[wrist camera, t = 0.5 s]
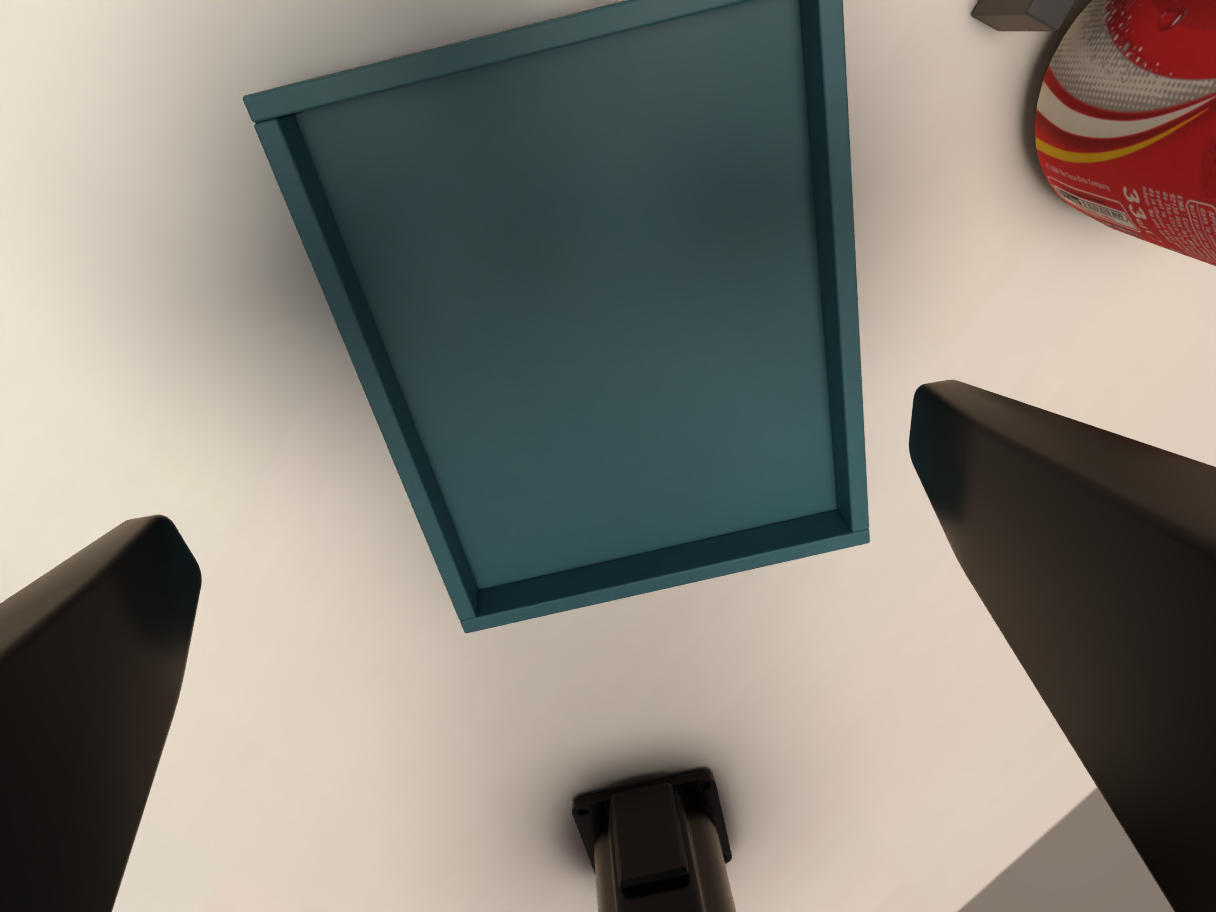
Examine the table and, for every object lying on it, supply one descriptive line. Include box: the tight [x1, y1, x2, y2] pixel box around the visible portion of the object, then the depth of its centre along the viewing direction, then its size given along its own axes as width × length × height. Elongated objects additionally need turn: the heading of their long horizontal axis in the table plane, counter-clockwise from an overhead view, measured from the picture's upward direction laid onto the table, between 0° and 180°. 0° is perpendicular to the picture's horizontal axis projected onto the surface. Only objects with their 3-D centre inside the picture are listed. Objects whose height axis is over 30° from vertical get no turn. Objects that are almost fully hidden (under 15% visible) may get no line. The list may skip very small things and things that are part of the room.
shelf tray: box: [243, 0, 870, 633], centre depth 23 cm, size 17×14×2 cm
